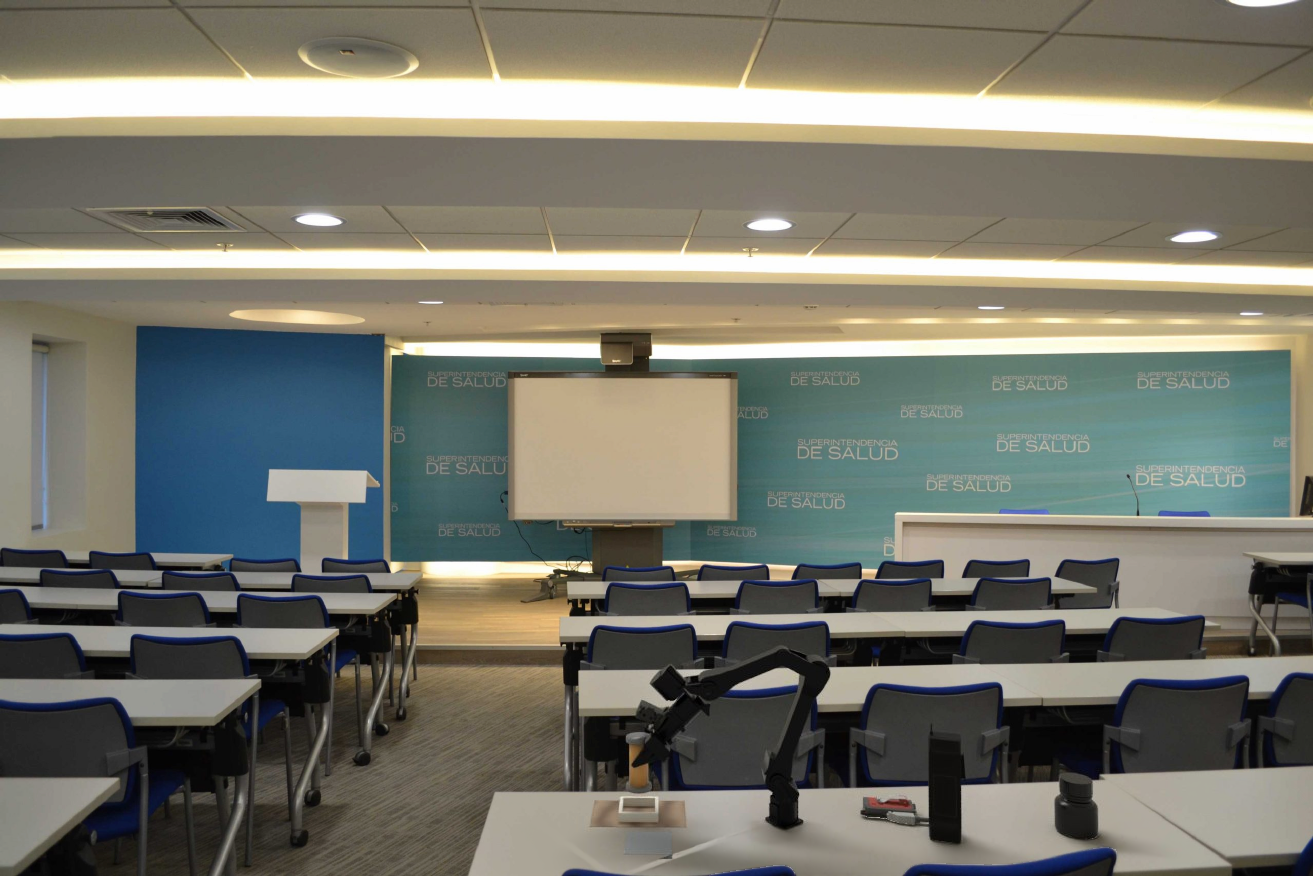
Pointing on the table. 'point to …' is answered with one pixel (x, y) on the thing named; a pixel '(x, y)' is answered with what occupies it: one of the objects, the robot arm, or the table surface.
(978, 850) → the table surface
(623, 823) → the walnut board
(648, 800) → the white square frame
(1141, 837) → the table surface
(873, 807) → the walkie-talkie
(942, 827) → the portable radio
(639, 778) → the orange cylinder grey ends
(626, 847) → the grey mat
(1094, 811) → the ink bottle
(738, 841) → the table surface
